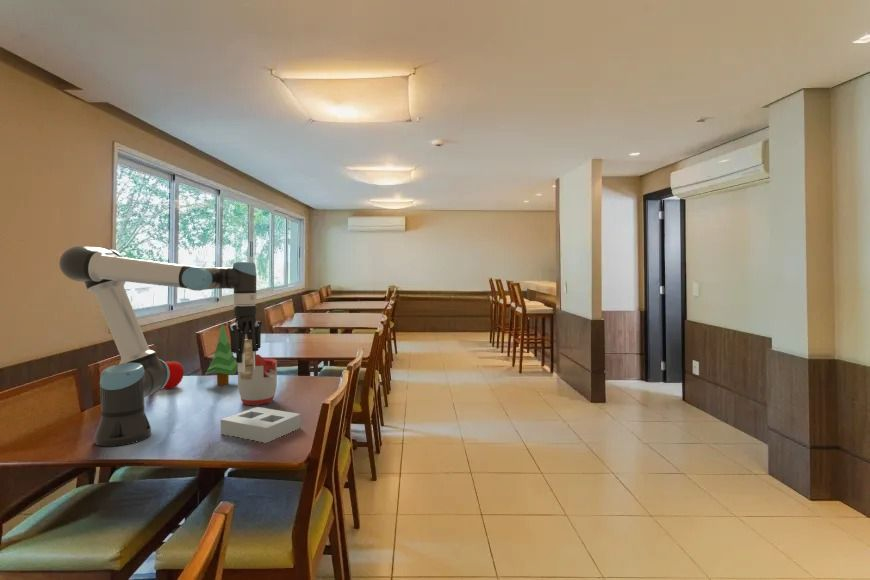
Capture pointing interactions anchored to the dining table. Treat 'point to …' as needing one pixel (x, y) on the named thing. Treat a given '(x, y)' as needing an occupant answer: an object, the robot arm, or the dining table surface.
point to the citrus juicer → (259, 382)
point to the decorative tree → (223, 360)
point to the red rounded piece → (174, 374)
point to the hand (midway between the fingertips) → (246, 370)
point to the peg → (247, 360)
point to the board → (260, 424)
